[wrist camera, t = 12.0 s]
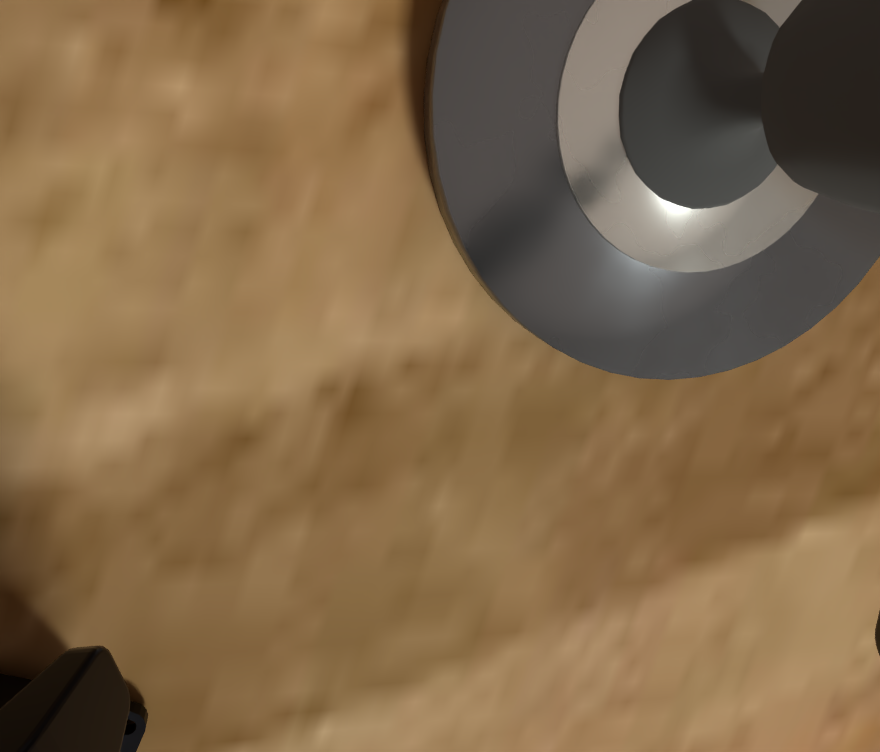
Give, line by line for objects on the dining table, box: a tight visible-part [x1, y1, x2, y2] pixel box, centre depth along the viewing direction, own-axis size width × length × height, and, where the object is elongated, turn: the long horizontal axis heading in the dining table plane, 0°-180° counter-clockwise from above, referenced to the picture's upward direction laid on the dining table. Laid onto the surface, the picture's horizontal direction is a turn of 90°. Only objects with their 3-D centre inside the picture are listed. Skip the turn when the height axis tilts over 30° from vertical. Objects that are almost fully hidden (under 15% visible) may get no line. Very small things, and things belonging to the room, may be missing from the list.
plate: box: [424, 0, 880, 380], centre depth 18 cm, size 14×14×3 cm
